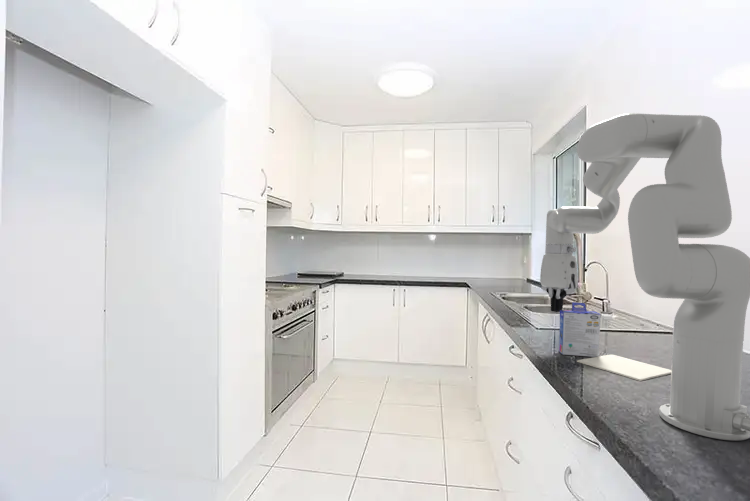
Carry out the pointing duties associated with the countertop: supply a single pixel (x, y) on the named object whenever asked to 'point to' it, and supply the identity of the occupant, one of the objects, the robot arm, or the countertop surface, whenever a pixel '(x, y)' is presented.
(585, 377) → the countertop surface
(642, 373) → the cream mat
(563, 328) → the ink cartridge box
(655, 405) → the countertop surface
